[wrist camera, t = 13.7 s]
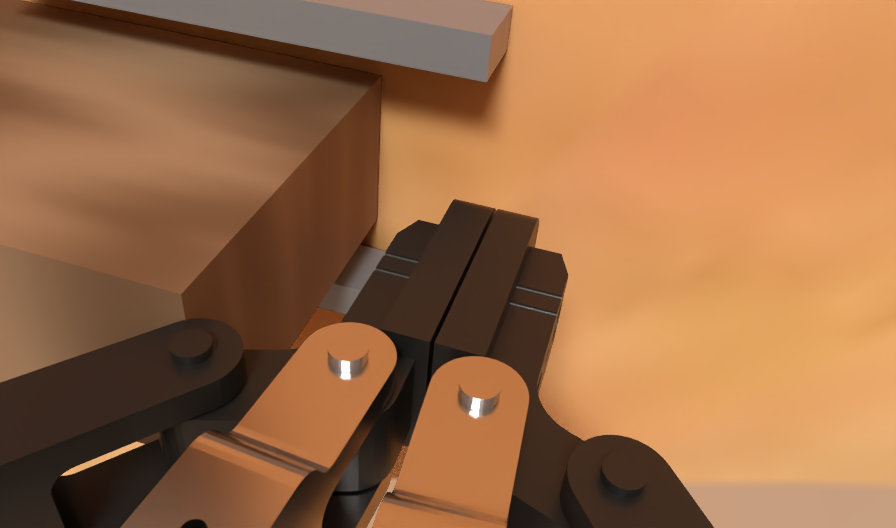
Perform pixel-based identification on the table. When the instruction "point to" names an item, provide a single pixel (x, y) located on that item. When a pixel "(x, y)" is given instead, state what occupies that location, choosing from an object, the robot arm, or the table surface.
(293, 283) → the walnut slat
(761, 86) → the table surface
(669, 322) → the table surface
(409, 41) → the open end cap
